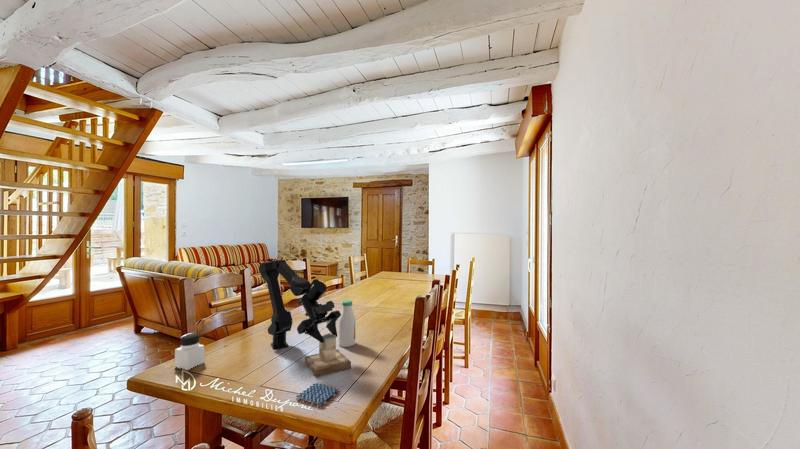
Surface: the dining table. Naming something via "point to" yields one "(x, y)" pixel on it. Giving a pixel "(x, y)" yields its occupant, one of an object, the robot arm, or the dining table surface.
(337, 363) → the base
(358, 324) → the dining table surface
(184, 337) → the medicine bottle
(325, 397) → the woven mat
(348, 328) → the milk bottle
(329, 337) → the beech block
